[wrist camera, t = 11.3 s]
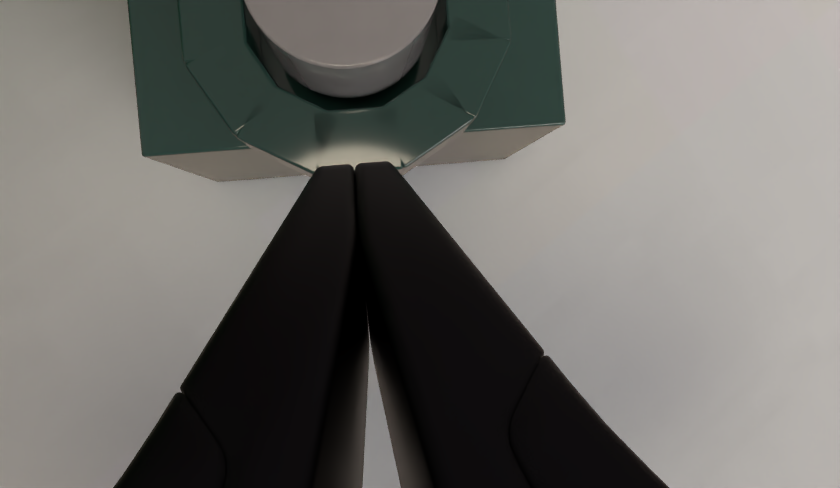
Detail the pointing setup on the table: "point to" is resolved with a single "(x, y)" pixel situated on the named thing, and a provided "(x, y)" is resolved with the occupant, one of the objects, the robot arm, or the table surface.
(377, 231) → the robot arm
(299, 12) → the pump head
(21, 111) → the table surface
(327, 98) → the green button box
